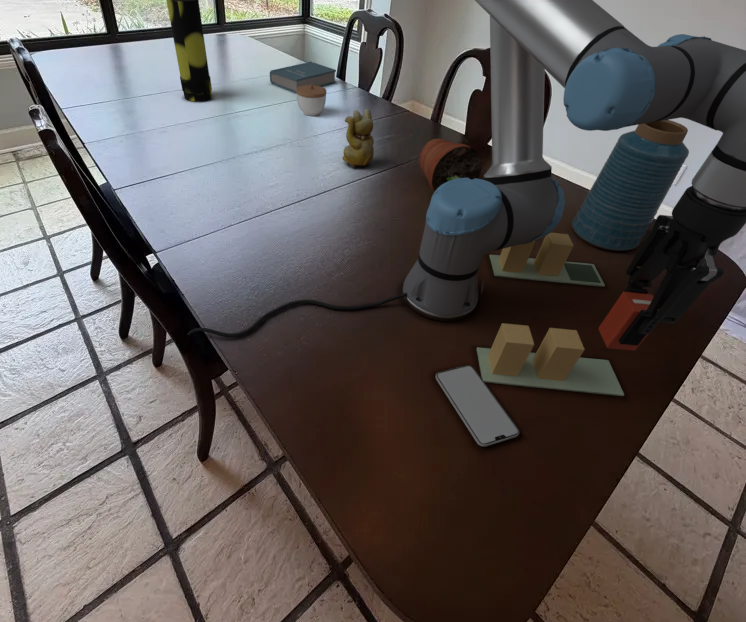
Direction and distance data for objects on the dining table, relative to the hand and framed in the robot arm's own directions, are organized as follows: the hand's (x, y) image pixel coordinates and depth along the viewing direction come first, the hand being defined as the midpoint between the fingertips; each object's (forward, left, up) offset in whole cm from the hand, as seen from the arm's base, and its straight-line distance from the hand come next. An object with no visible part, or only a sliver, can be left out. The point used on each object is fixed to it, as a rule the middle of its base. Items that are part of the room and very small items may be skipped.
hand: (622, 331), depth 70 cm
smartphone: (-22, -9, -11) cm, 26 cm away
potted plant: (-18, +57, -11) cm, 60 cm away
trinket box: (-66, +118, -11) cm, 135 cm away
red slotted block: (0, 0, -2) cm, 2 cm away
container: (-110, +124, -11) cm, 166 cm away
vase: (+18, +49, -11) cm, 53 cm away
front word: (-8, 0, -11) cm, 13 cm away
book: (-74, +152, -11) cm, 169 cm away
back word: (-1, +31, -11) cm, 33 cm away
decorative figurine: (-46, +78, -11) cm, 91 cm away
